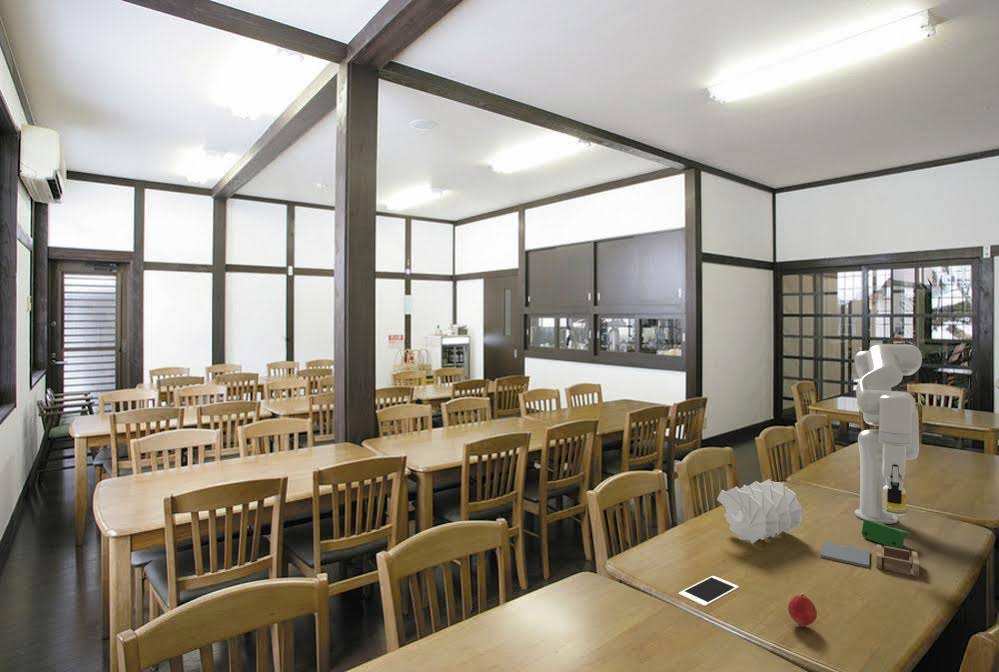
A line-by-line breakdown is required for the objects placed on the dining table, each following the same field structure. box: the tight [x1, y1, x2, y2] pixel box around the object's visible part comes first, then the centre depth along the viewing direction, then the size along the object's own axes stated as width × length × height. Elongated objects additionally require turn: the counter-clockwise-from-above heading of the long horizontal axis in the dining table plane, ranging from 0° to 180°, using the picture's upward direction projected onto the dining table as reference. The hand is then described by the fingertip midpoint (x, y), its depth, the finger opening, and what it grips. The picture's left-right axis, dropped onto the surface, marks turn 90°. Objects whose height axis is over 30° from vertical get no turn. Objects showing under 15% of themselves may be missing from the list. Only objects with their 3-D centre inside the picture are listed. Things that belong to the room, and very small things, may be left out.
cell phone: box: [678, 575, 740, 607], centre depth 141 cm, size 8×16×1 cm, turn 126°
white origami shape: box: [716, 478, 803, 544], centre depth 176 cm, size 18×18×25 cm
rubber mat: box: [820, 540, 871, 569], centre depth 162 cm, size 12×12×1 cm
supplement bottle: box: [882, 478, 907, 517], centre depth 155 cm, size 5×5×10 cm
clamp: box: [861, 519, 911, 549], centre depth 171 cm, size 12×6×9 cm, turn 19°
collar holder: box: [875, 543, 920, 578], centre depth 154 cm, size 10×10×4 cm
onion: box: [787, 592, 818, 628], centre depth 125 cm, size 6×6×8 cm
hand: (893, 499), depth 155 cm, fingers closed on supplement bottle, 5 cm apart
